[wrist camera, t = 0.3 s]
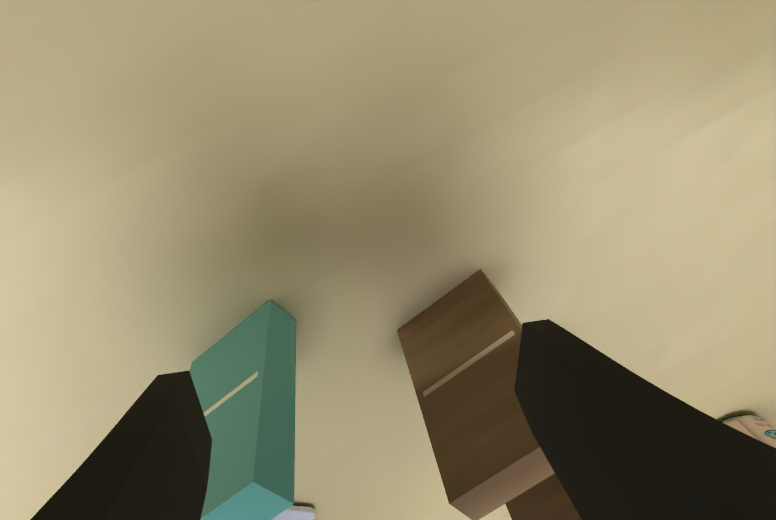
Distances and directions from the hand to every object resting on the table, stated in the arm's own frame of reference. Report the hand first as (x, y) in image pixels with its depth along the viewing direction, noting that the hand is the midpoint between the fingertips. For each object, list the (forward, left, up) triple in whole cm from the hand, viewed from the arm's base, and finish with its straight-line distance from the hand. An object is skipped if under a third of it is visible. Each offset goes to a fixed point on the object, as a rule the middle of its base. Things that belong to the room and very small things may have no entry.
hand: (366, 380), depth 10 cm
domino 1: (-8, +2, -10) cm, 13 cm away
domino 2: (-3, -7, -10) cm, 13 cm away
